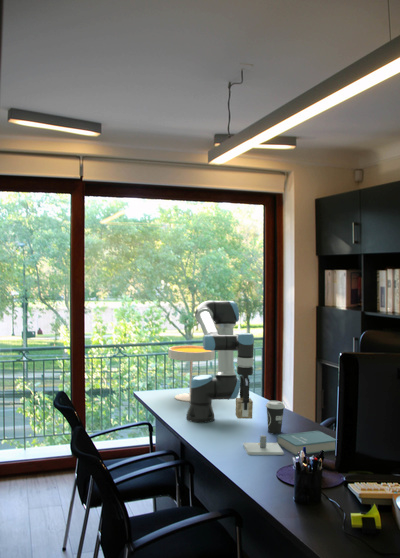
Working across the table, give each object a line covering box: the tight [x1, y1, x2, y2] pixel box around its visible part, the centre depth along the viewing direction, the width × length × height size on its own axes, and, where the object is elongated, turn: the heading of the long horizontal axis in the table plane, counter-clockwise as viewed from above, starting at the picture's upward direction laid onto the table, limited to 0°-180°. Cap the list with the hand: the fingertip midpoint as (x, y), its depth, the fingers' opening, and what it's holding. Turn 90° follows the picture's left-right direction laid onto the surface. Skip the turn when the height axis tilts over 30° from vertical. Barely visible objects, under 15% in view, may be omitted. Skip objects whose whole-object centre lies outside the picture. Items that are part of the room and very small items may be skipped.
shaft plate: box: [242, 435, 285, 456], centre depth 244 cm, size 16×13×6 cm
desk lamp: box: [167, 345, 216, 403], centre depth 338 cm, size 30×30×31 cm
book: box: [276, 430, 336, 456], centre depth 250 cm, size 23×16×5 cm
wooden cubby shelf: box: [235, 396, 254, 420], centre depth 254 cm, size 7×7×9 cm
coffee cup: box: [265, 400, 286, 435], centre depth 271 cm, size 10×10×15 cm
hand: (243, 414), depth 254 cm, fingers closed on wooden cubby shelf, 7 cm apart
